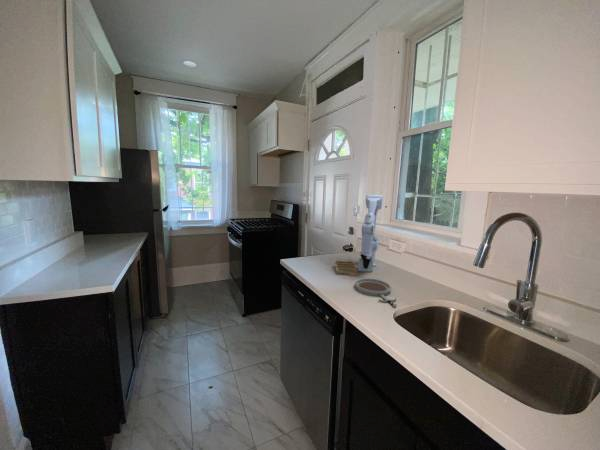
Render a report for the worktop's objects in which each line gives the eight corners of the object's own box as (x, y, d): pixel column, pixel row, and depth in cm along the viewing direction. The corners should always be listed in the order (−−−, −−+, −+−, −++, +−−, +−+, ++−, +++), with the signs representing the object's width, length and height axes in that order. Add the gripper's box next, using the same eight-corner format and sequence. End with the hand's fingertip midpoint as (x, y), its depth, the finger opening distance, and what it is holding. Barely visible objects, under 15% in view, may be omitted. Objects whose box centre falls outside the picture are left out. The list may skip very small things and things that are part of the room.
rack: (334, 266, 153) (335, 260, 153) (353, 267, 153) (353, 261, 152) (336, 274, 140) (337, 268, 139) (356, 275, 139) (357, 268, 139)
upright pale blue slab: (357, 269, 148) (358, 258, 147) (371, 270, 148) (372, 258, 146) (358, 271, 146) (359, 259, 145) (372, 271, 145) (373, 260, 144)
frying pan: (376, 304, 100) (349, 278, 127) (376, 311, 101) (349, 283, 128) (414, 301, 104) (380, 276, 131) (413, 308, 104) (379, 281, 131)
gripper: (357, 241, 152) (356, 263, 154) (362, 247, 137) (360, 271, 139) (369, 242, 151) (367, 263, 153) (375, 248, 137) (373, 272, 139)
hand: (365, 267), depth 146 cm, fingers closed on upright pale blue slab, 2 cm apart
